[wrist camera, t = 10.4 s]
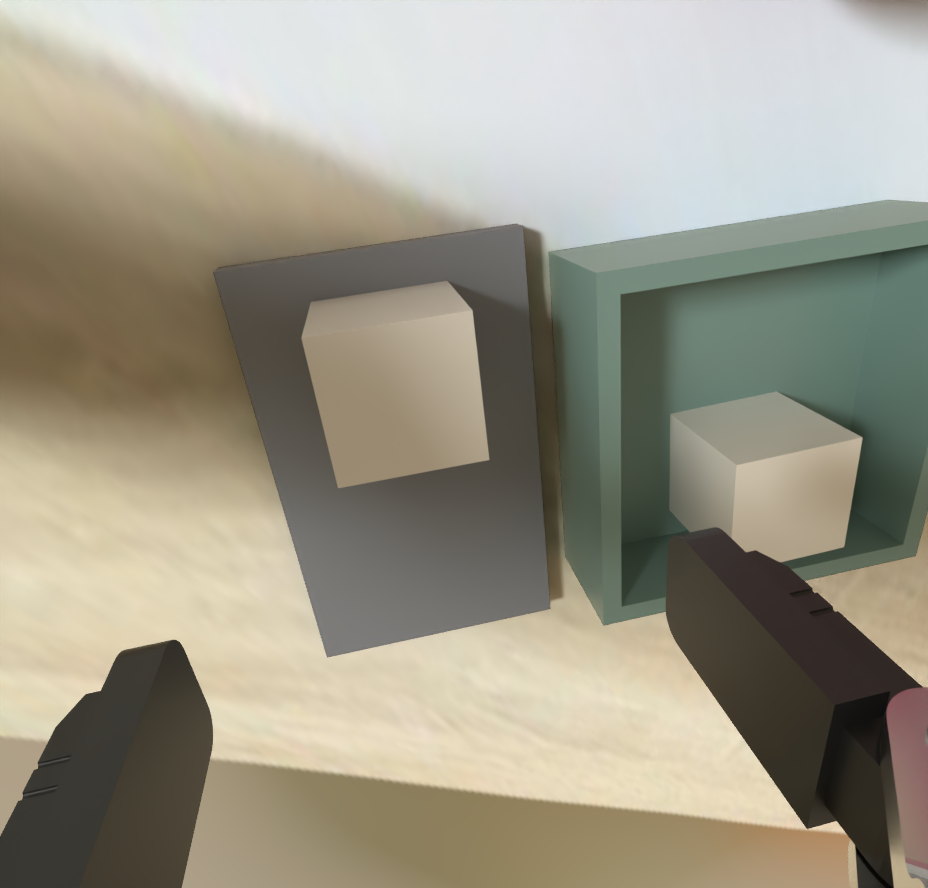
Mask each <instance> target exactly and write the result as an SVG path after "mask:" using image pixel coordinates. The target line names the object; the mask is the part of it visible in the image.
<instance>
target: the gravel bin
mask: <svg viewBox="0 0 928 888" xmlns="http://www.w3.org/2000/svg"><path fill="white" fill-rule="evenodd" d="M549 268H550V286H551V305H552V323H553V342H554V360H555V378H556V397H557V415H558V434H559V452H560V471H561V489H562V508H563V526H564V544H565V557H566V559H567V560H568V562H569V564H570V566H571V568H572V569H573V571H574V573H575V575H576V577H577V579H578V580H579V582H580V584H581V586H582V588H583V589H584V591H585V593H586V595H587V597H588V598H589V600H590V602H591V604H592V606H593V607H594V609H595V611H596V613H597V615H598V616H599V618H600V620H601V622H602V624H603V626H604V625H608V624H613V623H617V622H622V621H626V620H631V619H635V618H640V617H644V616H649V615H653V614H658V613H662V612H666V583H667V561H668V545H669V541H670V539H671V538H672V537H673V536H675V535H680V534H685V533H689V531H688V530H687V529H686V528H685V526H684V525H683V524H682V523H681V522H680V521H679V520H678V519H677V518H676V517H675V516H674V515H673V513H672V512H671V511H670V510H669V486H670V414H672V413H677V412H681V411H686V410H691V409H696V408H700V407H705V406H710V405H715V404H719V403H724V402H729V401H734V400H738V399H743V398H748V397H753V396H757V395H762V394H767V393H772V392H778V393H780V394H782V395H784V396H786V397H788V398H790V399H792V400H793V401H795V402H797V403H799V404H801V405H803V406H805V407H807V408H808V409H810V410H812V411H814V412H816V413H818V414H820V415H822V416H823V417H825V418H827V419H829V420H831V421H833V422H835V423H837V424H839V425H840V426H842V427H844V428H846V429H848V430H850V431H852V432H854V433H855V434H857V435H859V436H861V437H863V439H862V445H861V451H860V457H859V462H858V468H857V474H856V480H855V486H854V492H853V498H852V504H851V510H850V516H849V521H848V527H847V533H846V539H845V545H844V547H843V548H839V549H834V550H830V551H826V552H822V553H818V554H813V555H809V556H805V557H801V558H797V559H792V560H788V561H784V562H780V563H782V564H784V565H786V566H788V567H789V568H790V569H791V570H793V571H794V572H795V573H796V574H797V575H798V576H799V577H800V578H801V579H803V580H804V581H806V580H810V579H815V578H819V577H824V576H828V575H833V574H837V573H842V572H846V571H851V570H855V569H860V568H864V567H868V566H873V565H877V564H882V563H886V562H891V561H895V560H900V559H904V558H909V557H913V556H916V553H917V549H918V545H919V542H920V538H921V534H922V530H923V526H924V522H925V519H926V515H927V511H928V203H927V202H912V201H898V200H885V201H878V202H872V203H865V204H858V205H852V206H845V207H839V208H832V209H826V210H819V211H813V212H806V213H800V214H793V215H787V216H780V217H774V218H767V219H760V220H754V221H747V222H741V223H734V224H728V225H721V226H715V227H708V228H702V229H695V230H689V231H682V232H675V233H669V234H662V235H656V236H649V237H643V238H636V239H630V240H623V241H617V242H610V243H604V244H597V245H590V246H584V247H577V248H571V249H564V250H558V251H551V252H549Z"/></svg>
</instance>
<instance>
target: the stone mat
mask: <svg viewBox="0 0 928 888" xmlns="http://www.w3.org/2000/svg"><path fill="white" fill-rule="evenodd" d="M213 274H214V277H215V280H216V284H217V287H218V290H219V294H220V297H221V301H222V304H223V307H224V311H225V314H226V317H227V321H228V324H229V328H230V331H231V334H232V338H233V341H234V344H235V348H236V351H237V355H238V358H239V361H240V365H241V368H242V371H243V375H244V378H245V382H246V385H247V388H248V392H249V395H250V399H251V402H252V405H253V409H254V412H255V415H256V419H257V422H258V426H259V429H260V432H261V436H262V439H263V442H264V446H265V449H266V453H267V456H268V459H269V463H270V466H271V469H272V473H273V476H274V480H275V483H276V486H277V490H278V493H279V496H280V500H281V503H282V507H283V510H284V513H285V517H286V520H287V524H288V527H289V530H290V534H291V537H292V540H293V544H294V547H295V551H296V554H297V557H298V561H299V564H300V567H301V571H302V574H303V578H304V581H305V584H306V588H307V591H308V594H309V598H310V601H311V605H312V608H313V611H314V615H315V618H316V621H317V625H318V628H319V632H320V635H321V638H322V642H323V645H324V649H325V652H326V655H327V657H332V656H336V655H341V654H345V653H350V652H354V651H359V650H364V649H368V648H373V647H377V646H382V645H387V644H391V643H396V642H400V641H405V640H410V639H414V638H419V637H423V636H428V635H433V634H437V633H442V632H446V631H451V630H456V629H460V628H465V627H469V626H474V625H479V624H483V623H488V622H492V621H497V620H502V619H506V618H511V617H515V616H520V615H525V614H529V613H534V612H538V611H543V610H547V609H550V598H549V584H548V570H547V556H546V541H545V527H544V513H543V499H542V485H541V471H540V457H539V443H538V429H537V415H536V401H535V386H534V372H533V358H532V344H531V330H530V316H529V302H528V288H527V274H526V260H525V246H524V231H523V226H521V225H518V224H511V225H505V226H498V227H491V228H484V229H477V230H471V231H464V232H457V233H450V234H443V235H437V236H430V237H423V238H416V239H409V240H403V241H396V242H389V243H382V244H375V245H369V246H362V247H355V248H348V249H341V250H335V251H328V252H321V253H314V254H307V255H301V256H294V257H287V258H280V259H273V260H267V261H260V262H253V263H246V264H239V265H233V266H226V267H219V268H217V269H216V270H215V271H214V272H213ZM442 281H448V282H449V283H450V284H451V286H452V287H453V288H454V289H455V290H456V292H457V293H458V294H459V295H460V296H461V297H462V299H463V300H464V301H465V302H466V303H467V305H468V306H469V307H470V308H471V309H472V310H473V319H474V328H475V337H476V346H477V355H478V364H479V373H480V381H481V390H482V399H483V408H484V417H485V426H486V435H487V443H488V452H489V460H486V461H481V462H476V463H470V464H465V465H460V466H454V467H449V468H444V469H439V470H433V471H428V472H423V473H417V474H412V475H407V476H401V477H396V478H391V479H386V480H380V481H375V482H370V483H364V484H359V485H354V486H348V487H343V488H338V486H337V482H336V478H335V474H334V470H333V466H332V461H331V457H330V453H329V449H328V445H327V441H326V437H325V433H324V429H323V425H322V421H321V416H320V412H319V408H318V404H317V400H316V396H315V392H314V388H313V384H312V380H311V375H310V371H309V367H308V363H307V359H306V355H305V351H304V347H303V343H302V339H301V338H302V334H303V330H304V326H305V322H306V319H307V315H308V311H309V307H310V303H311V302H313V301H320V300H326V299H333V298H339V297H346V296H352V295H358V294H365V293H371V292H378V291H384V290H391V289H397V288H404V287H410V286H416V285H423V284H429V283H436V282H442Z"/></svg>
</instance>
